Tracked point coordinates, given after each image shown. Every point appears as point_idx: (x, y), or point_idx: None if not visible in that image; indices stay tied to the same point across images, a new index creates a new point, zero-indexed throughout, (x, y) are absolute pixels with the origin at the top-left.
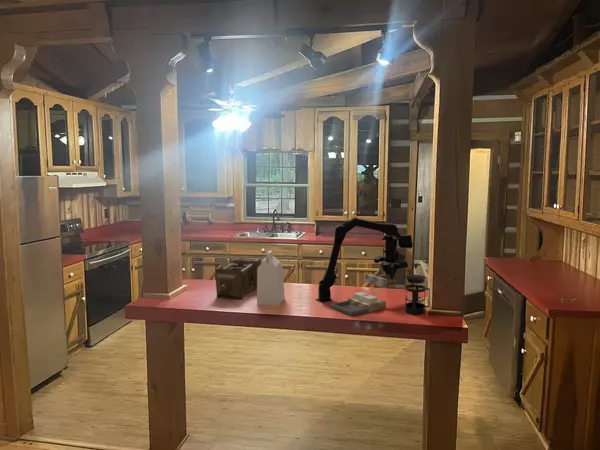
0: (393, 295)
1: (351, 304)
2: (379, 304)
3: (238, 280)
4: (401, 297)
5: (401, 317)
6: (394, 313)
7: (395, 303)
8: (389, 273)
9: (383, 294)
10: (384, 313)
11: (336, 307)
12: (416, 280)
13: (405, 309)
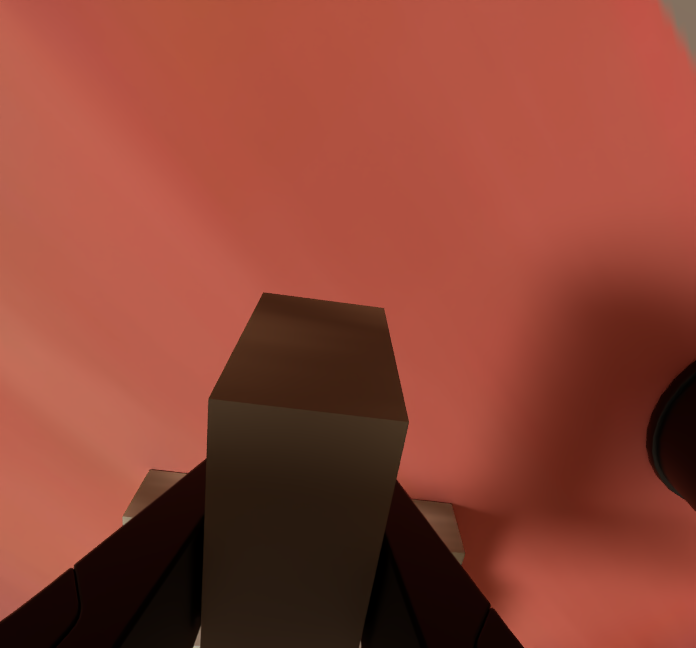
0: (204, 65)
1: None
2: None
3: None
4: (352, 65)
5: (690, 589)
6: (597, 559)
7: (447, 342)
8: (212, 563)
9: (79, 136)
10: (528, 602)
11: None
12: None
13: (678, 492)
